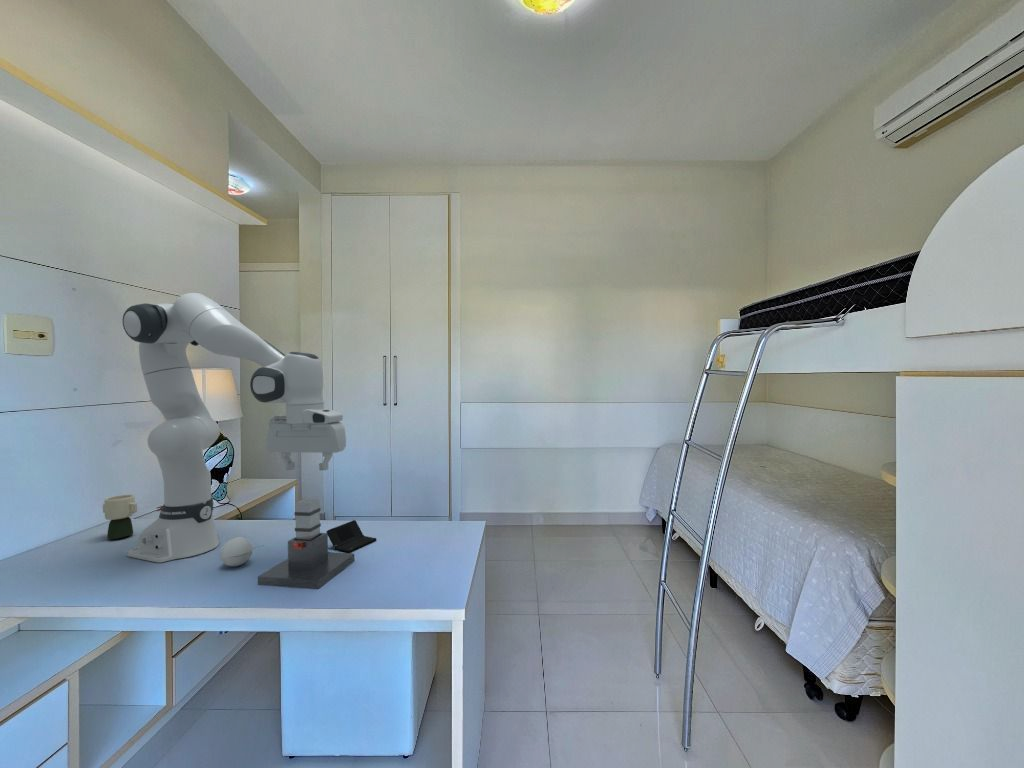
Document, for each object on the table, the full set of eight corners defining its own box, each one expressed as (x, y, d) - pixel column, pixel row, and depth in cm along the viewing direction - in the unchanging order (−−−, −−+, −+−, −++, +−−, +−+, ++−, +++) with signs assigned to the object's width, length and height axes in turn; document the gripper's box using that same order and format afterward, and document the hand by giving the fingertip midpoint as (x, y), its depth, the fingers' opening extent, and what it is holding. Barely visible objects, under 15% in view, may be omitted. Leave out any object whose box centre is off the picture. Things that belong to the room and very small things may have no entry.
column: (295, 566, 109) (294, 502, 109) (306, 559, 113) (305, 498, 113) (311, 567, 108) (309, 503, 108) (321, 560, 112) (320, 498, 112)
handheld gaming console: (355, 548, 122) (339, 518, 125) (337, 563, 123) (322, 532, 126) (380, 540, 133) (364, 512, 136) (363, 553, 134) (348, 525, 137)
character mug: (146, 533, 142) (146, 494, 142) (126, 541, 135) (125, 500, 135) (114, 533, 142) (113, 494, 142) (92, 541, 135) (92, 500, 135)
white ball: (217, 573, 111) (217, 545, 111) (223, 562, 117) (222, 535, 117) (262, 566, 115) (262, 538, 115) (265, 556, 122) (264, 529, 122)
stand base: (257, 584, 104) (256, 547, 104) (301, 557, 120) (300, 525, 120) (318, 589, 101) (317, 550, 101) (354, 560, 117) (353, 527, 117)
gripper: (260, 417, 109) (261, 472, 109) (334, 416, 106) (336, 472, 106) (277, 415, 115) (279, 466, 115) (348, 414, 112) (350, 467, 112)
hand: (307, 469), depth 110 cm, fingers open, 8 cm apart
